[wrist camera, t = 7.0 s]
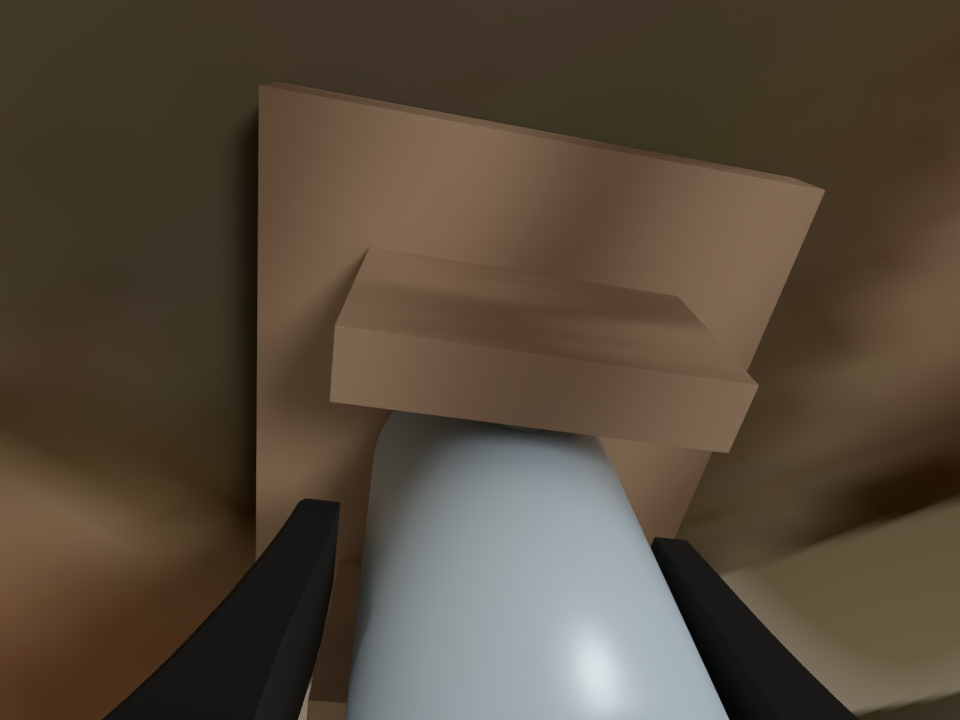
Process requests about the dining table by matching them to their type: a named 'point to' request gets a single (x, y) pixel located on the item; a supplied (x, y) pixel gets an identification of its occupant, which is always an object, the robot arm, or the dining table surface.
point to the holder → (496, 305)
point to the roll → (512, 585)
